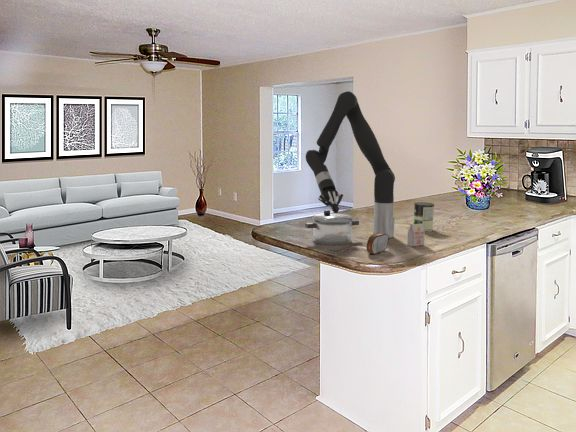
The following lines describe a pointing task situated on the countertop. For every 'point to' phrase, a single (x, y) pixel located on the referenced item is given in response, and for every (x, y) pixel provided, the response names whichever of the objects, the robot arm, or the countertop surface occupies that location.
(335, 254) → the countertop surface
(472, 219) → the countertop surface
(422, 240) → the milk carton
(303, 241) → the countertop surface
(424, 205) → the coffee can
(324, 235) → the cooker pot
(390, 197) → the robot arm
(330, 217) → the cooker lid
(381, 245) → the tin
